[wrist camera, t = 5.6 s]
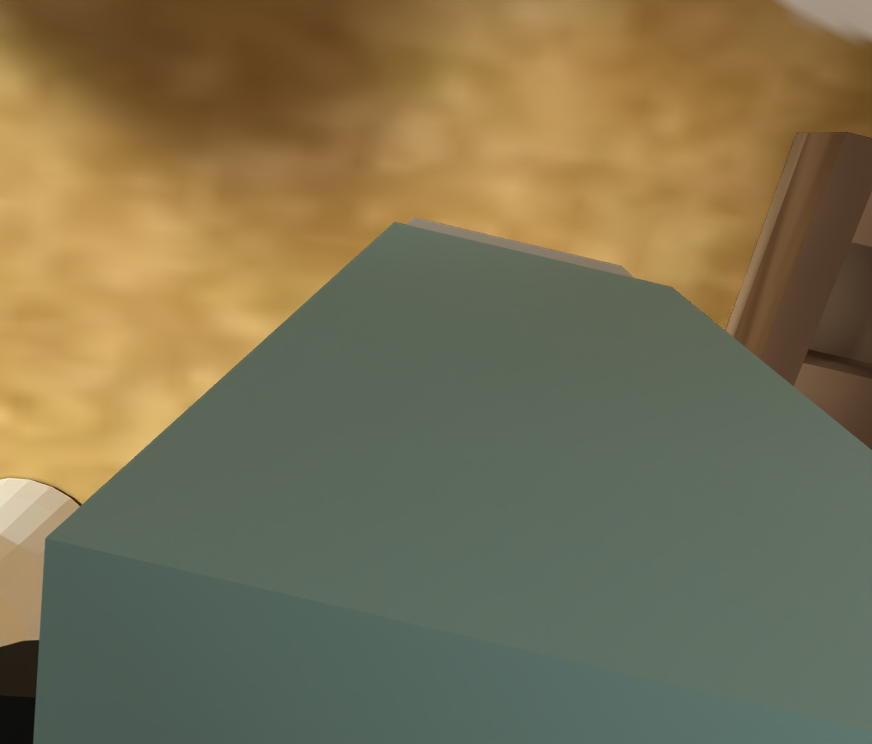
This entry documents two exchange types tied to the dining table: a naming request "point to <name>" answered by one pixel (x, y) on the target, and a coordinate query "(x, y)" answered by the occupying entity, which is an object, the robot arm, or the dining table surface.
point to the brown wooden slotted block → (817, 279)
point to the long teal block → (473, 529)
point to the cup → (25, 552)
